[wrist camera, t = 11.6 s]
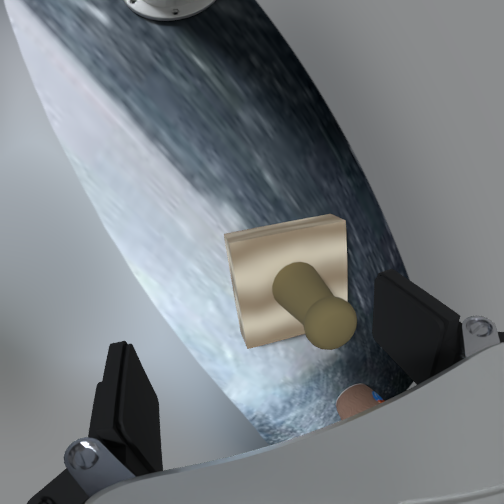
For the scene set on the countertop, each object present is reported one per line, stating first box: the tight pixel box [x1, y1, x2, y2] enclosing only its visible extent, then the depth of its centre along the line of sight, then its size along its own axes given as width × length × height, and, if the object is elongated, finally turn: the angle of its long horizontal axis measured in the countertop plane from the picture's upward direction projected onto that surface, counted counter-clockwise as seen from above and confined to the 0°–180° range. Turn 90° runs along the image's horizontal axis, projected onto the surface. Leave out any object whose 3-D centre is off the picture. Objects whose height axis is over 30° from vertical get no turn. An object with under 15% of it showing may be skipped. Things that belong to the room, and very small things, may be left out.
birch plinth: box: [224, 214, 347, 349], centre depth 40 cm, size 14×14×4 cm
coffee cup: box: [336, 383, 385, 420], centre depth 47 cm, size 10×10×12 cm
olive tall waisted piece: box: [272, 262, 357, 350], centre depth 33 cm, size 6×6×11 cm
